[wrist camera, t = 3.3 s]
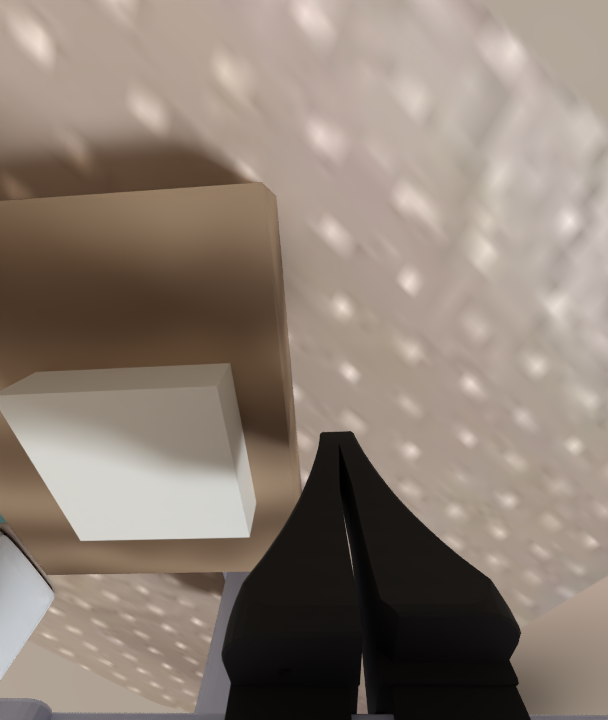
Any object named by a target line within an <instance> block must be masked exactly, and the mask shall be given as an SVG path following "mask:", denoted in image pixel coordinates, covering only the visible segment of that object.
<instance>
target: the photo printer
mask: <svg viewBox="0 0 608 720" xmlns="http://www.w3.org/2000/svg"><path fill="white" fill-rule="evenodd" d="M53 599H54V593H53V591H52V590H51V588H50V587H49V586H48V584H47V583H46V582H45V580H44V579H43V578H42V577H41V575H40V574H39V573H38V571H37V570H36V569H35V568H34V567H33V565H32V564H31V563H30V562H29V561H28V559H27V558H26V557H25V556H24V555H23V554H22V552H21V551H20V550H19V549H18V548H17V547H16V546H15V544H14V543H13V542H12V541H11V540H10V539H9V538H8V537H6V536H5V535H3V533H2V532H0V680H1V678H2V677H3V675H4V674H5V672H6V671H7V669H8V668H9V666H10V665H11V663H12V662H13V661H14V659H15V657H16V656H17V655H18V653H19V652H20V650H21V649H22V647H23V645H24V644H25V643H26V641H27V640H28V638H29V637H30V635H31V634H32V632H33V631H34V629H35V628H36V626H37V625H38V623H39V622H40V620H41V619H42V617H43V616H44V614H45V613H46V611H47V610H48V608H49V607H50V605H51V603H52V601H53Z"/></svg>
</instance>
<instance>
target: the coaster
mask: <svg viewBox="0 0 608 720" xmlns="http://www.w3.org/2000/svg"><path fill="white" fill-rule="evenodd" d="M0 411H1V413H2V414H3V416H4V418H5V419H6V421H7V422H8V424H9V426H10V427H11V429H12V431H13V432H14V434H15V435H16V437H17V439H18V440H19V442H20V443H21V445H22V447H23V448H24V450H25V452H26V453H27V455H28V456H29V458H30V460H31V461H32V463H33V465H34V466H35V468H36V469H37V471H38V473H39V474H40V476H41V477H42V479H43V481H44V482H45V484H46V486H47V487H48V489H49V490H50V492H51V494H52V495H53V497H54V499H55V500H56V502H57V503H58V505H59V507H60V508H61V510H62V511H63V513H64V515H65V516H66V518H67V520H68V521H69V523H70V524H71V526H72V528H73V529H74V531H75V533H76V534H77V536H78V537H79V539H80V541H102V540H150V539H198V538H246V537H250V533H251V528H252V522H253V517H254V512H255V507H256V499H255V493H254V488H253V483H252V477H251V472H250V466H249V461H248V456H247V450H246V445H245V440H244V434H243V429H242V424H241V418H240V413H239V408H238V402H237V397H236V392H235V386H234V381H233V376H232V370H231V365H230V363H222V364H200V365H178V366H156V367H134V368H112V369H90V370H69V371H47V372H35V373H33V374H31V375H29V376H28V377H26V378H24V379H22V380H20V381H18V382H16V383H14V384H12V385H10V386H9V387H7V388H5V389H3V390H1V391H0Z"/></svg>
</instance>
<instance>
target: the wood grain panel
mask: <svg viewBox="0 0 608 720" xmlns="http://www.w3.org/2000/svg"><path fill="white" fill-rule="evenodd" d="M222 363H230V365H231V370H232V376H233V381H234V386H235V392H236V397H237V402H238V408H239V413H240V418H241V424H242V429H243V434H244V440H245V445H246V450H247V456H248V461H249V466H250V472H251V477H252V483H253V488H254V493H255V499H256V507H255V512H254V517H253V522H252V528H251V533H250V537H246V538H198V539H150V540H102V541H80V539H79V537H78V536H77V534H76V533H75V531H74V529H73V528H72V526H71V524H70V523H69V521H68V520H67V518H66V516H65V515H64V513H63V511H62V510H61V508H60V507H59V505H58V503H57V502H56V500H55V499H54V497H53V495H52V494H51V492H50V490H49V489H48V487H47V486H46V484H45V482H44V481H43V479H42V477H41V476H40V474H39V473H38V471H37V469H36V468H35V466H34V465H33V463H32V461H31V460H30V458H29V456H28V455H27V453H26V452H25V450H24V448H23V447H22V445H21V443H20V442H19V440H18V439H17V437H16V435H15V434H14V432H13V431H12V429H11V427H10V426H9V424H8V422H7V421H6V419H5V418H4V416H3V414H2V413H1V411H0V514H1V515H2V517H3V518H4V519H5V521H6V522H7V523H8V525H9V526H10V527H11V529H12V530H13V531H14V533H15V534H16V535H17V536H18V538H19V539H20V540H21V542H22V543H23V544H24V546H25V547H26V548H27V550H28V551H29V552H30V554H31V555H32V556H33V558H34V559H35V560H36V562H37V563H38V564H39V565H40V567H41V568H42V569H43V571H44V572H45V573H46V575H69V574H132V573H194V572H251V571H252V570H253V569H254V567H255V566H256V565H257V564H258V562H259V561H260V560H261V559H262V557H263V556H264V555H265V553H266V552H267V550H268V549H269V547H270V546H271V545H272V543H273V542H274V540H275V539H276V537H277V536H278V534H279V533H280V531H281V530H282V528H283V527H284V525H285V523H286V522H287V520H288V518H289V516H290V515H291V513H292V511H293V509H294V508H295V506H296V504H297V502H298V500H299V498H300V496H301V494H302V490H301V478H300V467H299V455H298V444H297V432H296V421H295V409H294V397H293V386H292V374H291V363H290V351H289V340H288V328H287V317H286V305H285V294H284V282H283V271H282V259H281V248H280V236H279V225H278V213H277V202H276V195H275V194H274V193H272V192H271V191H270V190H269V189H268V188H267V187H266V186H265V185H264V184H263V183H262V182H258V183H244V184H230V185H216V186H202V187H188V188H174V189H160V190H146V191H132V192H118V193H104V194H90V195H75V196H61V197H47V198H33V199H19V200H5V201H0V391H1V390H3V389H5V388H7V387H9V386H10V385H12V384H14V383H16V382H18V381H20V380H22V379H24V378H26V377H28V376H29V375H31V374H33V373H35V372H47V371H69V370H90V369H112V368H134V367H156V366H178V365H200V364H222Z"/></svg>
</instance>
